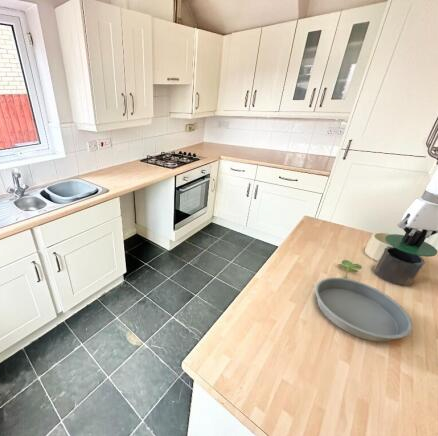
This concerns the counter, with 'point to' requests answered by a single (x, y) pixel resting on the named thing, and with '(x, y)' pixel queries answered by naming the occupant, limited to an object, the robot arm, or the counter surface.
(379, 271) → the cup
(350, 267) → the seedling
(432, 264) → the counter surface
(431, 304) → the counter surface
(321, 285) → the cake pan
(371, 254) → the tin
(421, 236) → the robot arm
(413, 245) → the lid
